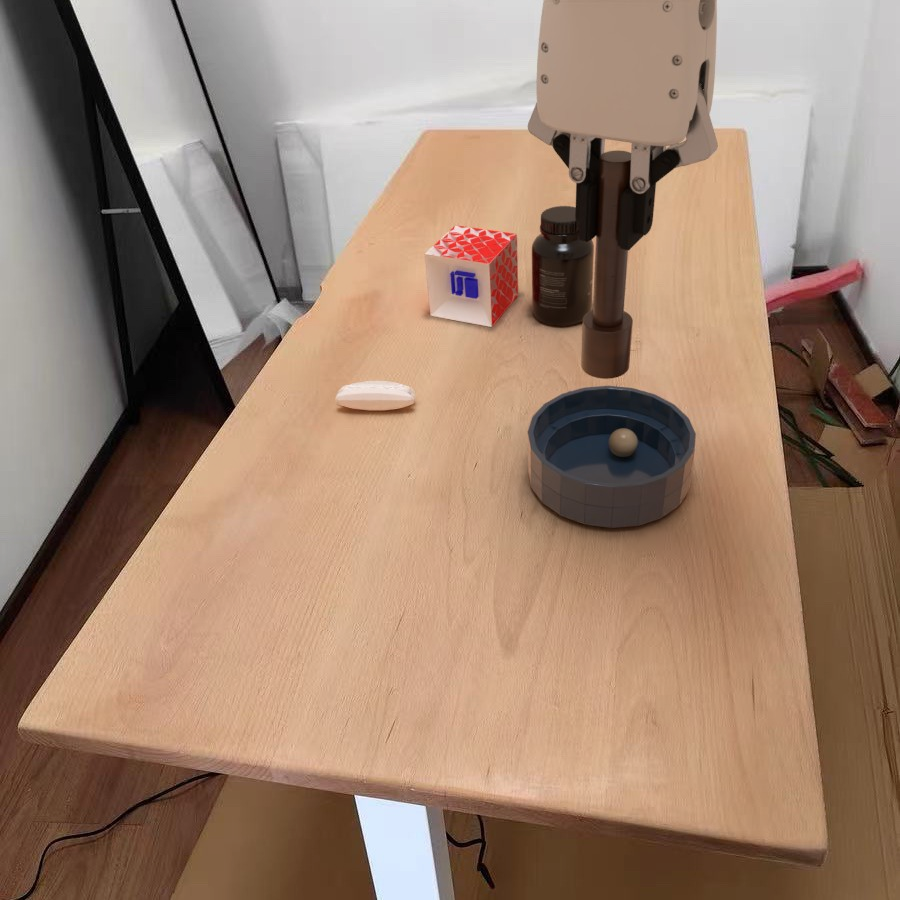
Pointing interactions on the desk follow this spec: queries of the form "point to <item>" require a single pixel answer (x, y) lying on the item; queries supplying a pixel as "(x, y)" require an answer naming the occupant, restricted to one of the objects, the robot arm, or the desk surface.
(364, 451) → the desk surface
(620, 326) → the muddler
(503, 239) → the puzzle cube
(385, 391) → the sandwich bun
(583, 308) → the supplement bottle
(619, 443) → the ball
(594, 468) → the bowl
